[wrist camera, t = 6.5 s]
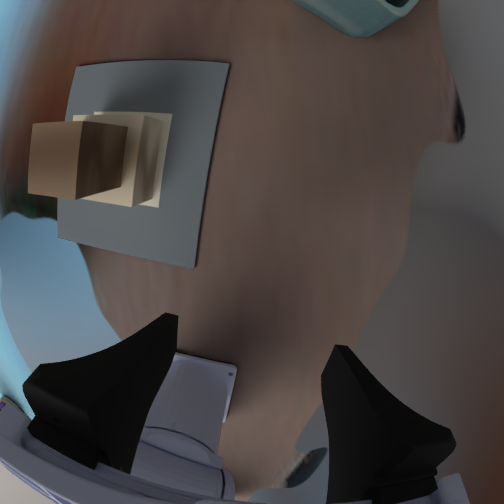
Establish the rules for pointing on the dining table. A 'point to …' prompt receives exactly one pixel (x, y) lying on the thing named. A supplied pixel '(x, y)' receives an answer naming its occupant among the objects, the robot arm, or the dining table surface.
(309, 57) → the dining table surface
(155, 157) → the base block
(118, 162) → the walnut block
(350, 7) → the flower pot
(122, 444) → the robot arm
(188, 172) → the build mat
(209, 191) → the dining table surface
